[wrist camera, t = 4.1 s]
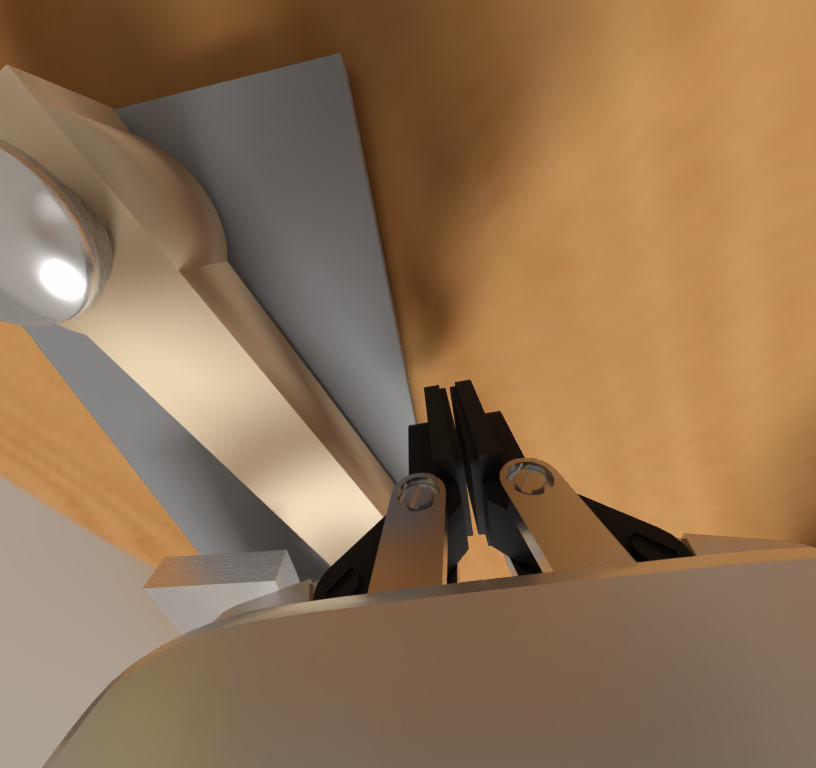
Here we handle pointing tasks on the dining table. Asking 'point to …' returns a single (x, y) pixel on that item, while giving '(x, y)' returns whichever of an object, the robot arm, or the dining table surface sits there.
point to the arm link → (198, 320)
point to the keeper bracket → (217, 584)
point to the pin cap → (47, 246)
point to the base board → (265, 290)
